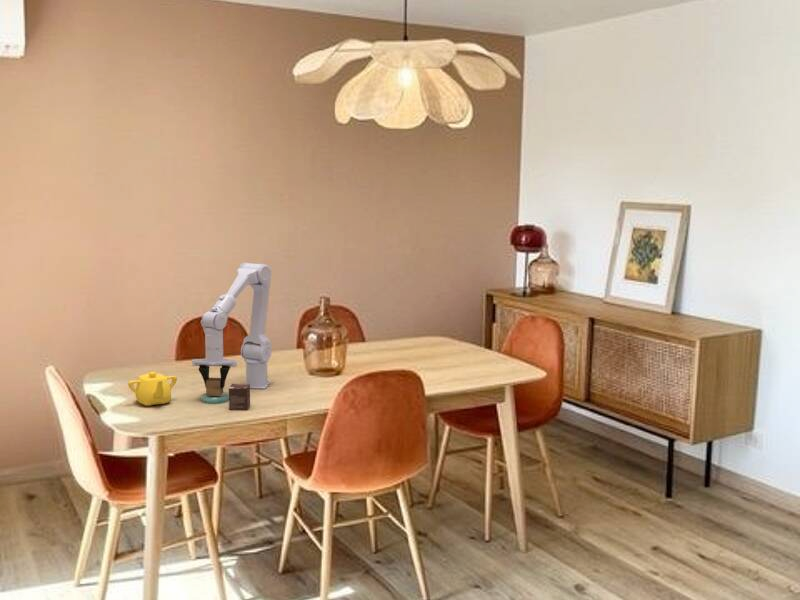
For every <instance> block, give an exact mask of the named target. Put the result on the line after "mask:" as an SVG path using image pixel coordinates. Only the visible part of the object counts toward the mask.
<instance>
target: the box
mask: <svg viewBox="0 0 800 600" xmlns="http://www.w3.org/2000/svg"><path fill="white" fill-rule="evenodd" d="M228 394H229V401H228V408H229V410H230V411H241V410H242V411H243V410H245V411H248V410H249V408H250V406H251V388H250V384H246V383H231V384H230V386H229V388H228Z"/></svg>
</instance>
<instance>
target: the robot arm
mask: <svg viewBox="0 0 800 600" xmlns="http://www.w3.org/2000/svg"><path fill="white" fill-rule="evenodd" d="M236 274H237V276H236V277H235V279H234V281H233V282H232V284H231V286H230V288H229V289H228V291H227V292H226V293H224V294H221V295H219V297H218V299H217V301H216V302H215V303H214V304H213V306H212V307H211V309H210V310H208V311H206V312H204V313H203V315H202V316H201V320H200V324H201V326H202V329H203V332H204V339H205V340H204V344H205V345H204V346H205V347H204V349H205V358H201V359H200V358H199V359H195V358H193V359H192V360H191V363H192V364H191V366H192V367H198V372H199V373H200V375H201V377H202V379H203V383H204V386H205V388H206V381H207V380H208V379H209V378H210V367H219V373H220V378H221V388H223V389H224V388H225V386H226V385H225V384H226V379H227V377H228V374H229V371H230V369H231V367H232V368H236V367H237V366H238V360H236V359H227V358H224V332H223V331H224V330H223V329H224V328H225V327H226V326H227V322H228V319H229V315H230V313H231V312H232V310H233V309H234V308H235V307H236V300H237V298H239V296H240V295H241V293H242V292H243V291H244V290H245V289H246V288H247V286H250V287H251V288H252V290H253V296H252V297H253V298H252V306H251V314H250V315H251V316H250V326H249V327H250V328H249V334H248V335H246V336H245V337H244V338H243V342H242V345H241V348H240V356H241V358H242V359H244V360H243V361H244V362H245V384H250V389H255V390H256V389H257V390H258V389H261V390H265V389H267V387H268V386H269V385H270V383H271V381H270V380H268V364H267V363H268V362H269V360H270V359H271V357H272V348H271V346H272V345H271V344H272V342H271V340H270V338H268V337H267V336H266V328H267V319H268V308H269V298H270V297H269V296H270V288H271V280H272V278H271V277H272V270H271V268H270V267H269V265H267V263H266V264H264V263H251V262H243V263H241V264H240V265H239V268H238V269H237V272H236Z"/></svg>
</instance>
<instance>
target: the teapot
mask: <svg viewBox="0 0 800 600" xmlns="http://www.w3.org/2000/svg"><path fill="white" fill-rule="evenodd" d="M168 380H171V383H170V384H169V381H168ZM177 380H178V377H177V376H176V375H169V376H168V375H167V376H165V374H162V373H157V372H156V371H150V372H148V373H144V374H141V375H139V376H138V379H137V380H136V379H135V380H133V379H132V380H130V381H129V380H128V382H127V385H128V388H129V389H130V390H131V392H133V393H134V394H135V398H136V400H137V402H138V403H140V404H142V405H144V406H145V407H151V406H154V405H166V404H167V403H169V402H170V400H171V398H172V392H171V390H172V389H173V388H174V386H175V385H176V383H177ZM134 384H136V386H134ZM165 403H166V404H165Z"/></svg>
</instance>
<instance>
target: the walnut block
mask: <svg viewBox="0 0 800 600" xmlns="http://www.w3.org/2000/svg"><path fill="white" fill-rule="evenodd" d="M205 391H206V392H205V393H206V396H220V395H221V394H222V393H223V392H224V388H221V377H209V379H208V380H207V381H206V387H205Z"/></svg>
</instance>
